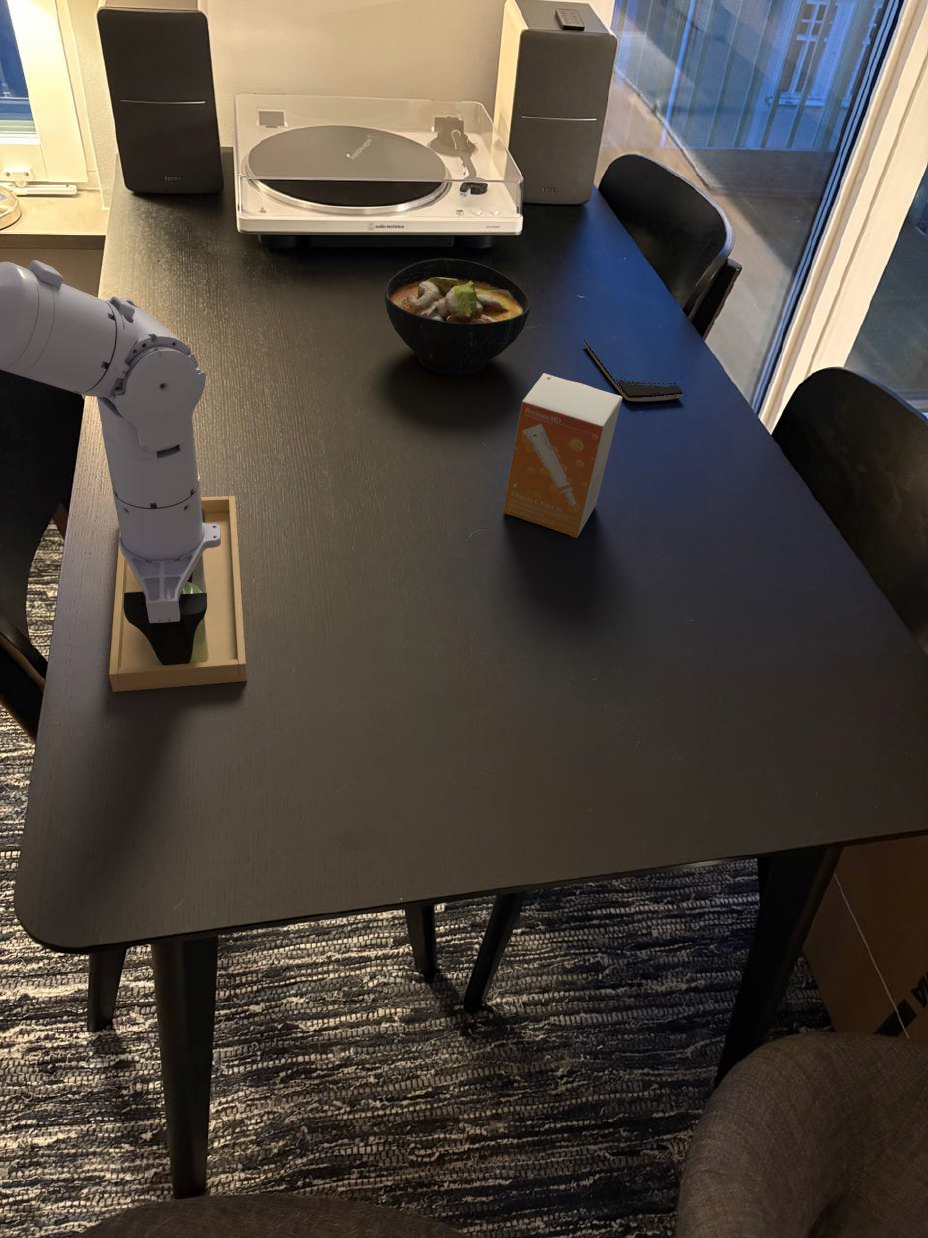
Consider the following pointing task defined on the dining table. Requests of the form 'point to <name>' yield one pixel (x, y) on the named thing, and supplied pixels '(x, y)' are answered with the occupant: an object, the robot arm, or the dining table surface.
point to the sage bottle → (200, 637)
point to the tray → (222, 618)
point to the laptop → (639, 387)
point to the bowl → (455, 313)
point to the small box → (560, 453)
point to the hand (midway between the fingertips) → (176, 626)
